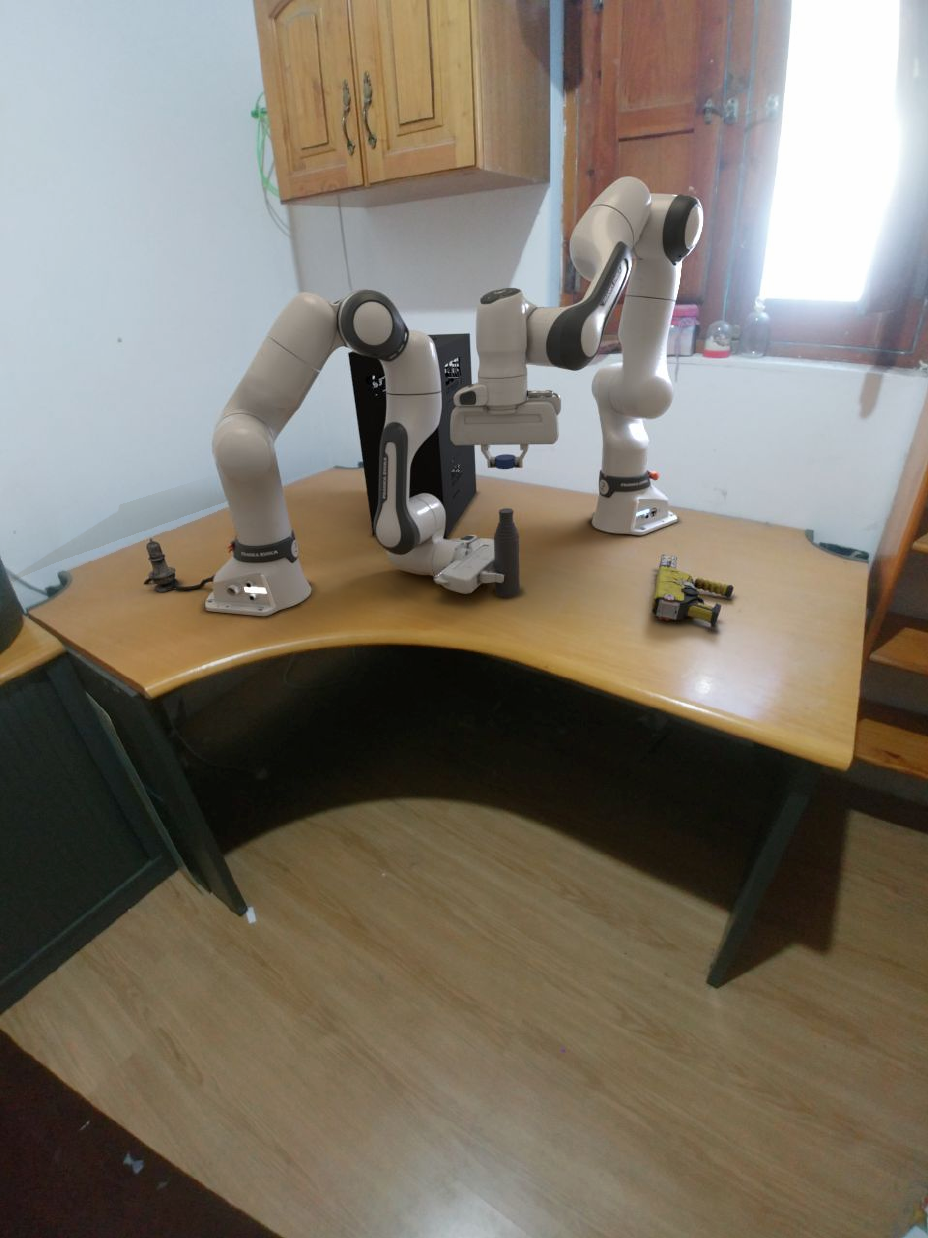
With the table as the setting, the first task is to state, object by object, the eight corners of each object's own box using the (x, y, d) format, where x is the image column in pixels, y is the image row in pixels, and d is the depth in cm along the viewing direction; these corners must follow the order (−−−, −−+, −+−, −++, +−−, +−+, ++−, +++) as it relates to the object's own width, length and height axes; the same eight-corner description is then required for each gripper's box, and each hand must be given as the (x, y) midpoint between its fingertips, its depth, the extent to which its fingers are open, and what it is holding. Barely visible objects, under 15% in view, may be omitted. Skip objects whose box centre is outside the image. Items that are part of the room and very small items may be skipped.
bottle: (524, 591, 129) (524, 509, 120) (508, 600, 126) (507, 516, 117) (506, 584, 132) (504, 504, 123) (490, 593, 129) (487, 511, 120)
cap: (496, 463, 118) (496, 454, 117) (517, 463, 117) (517, 454, 116) (493, 469, 114) (493, 460, 114) (514, 469, 114) (514, 459, 113)
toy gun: (733, 563, 128) (661, 551, 132) (740, 613, 108) (654, 597, 112) (728, 583, 130) (657, 571, 134) (732, 635, 110) (649, 619, 114)
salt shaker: (170, 592, 137) (153, 544, 131) (147, 591, 138) (130, 543, 132) (185, 581, 142) (170, 533, 136) (163, 580, 143) (147, 532, 137)
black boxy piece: (446, 538, 156) (432, 350, 134) (372, 535, 161) (348, 352, 138) (476, 491, 188) (469, 333, 165) (414, 490, 192) (399, 335, 170)
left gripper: (427, 566, 123) (488, 578, 117) (474, 531, 138) (530, 540, 132) (430, 594, 126) (489, 606, 120) (475, 556, 142) (530, 566, 135)
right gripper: (562, 386, 109) (561, 462, 116) (452, 389, 114) (457, 462, 121) (559, 393, 104) (558, 472, 111) (445, 396, 108) (450, 472, 115)
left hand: (511, 571), depth 126 cm, fingers closed on bottle, 5 cm apart
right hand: (505, 467), depth 116 cm, fingers closed on cap, 4 cm apart
